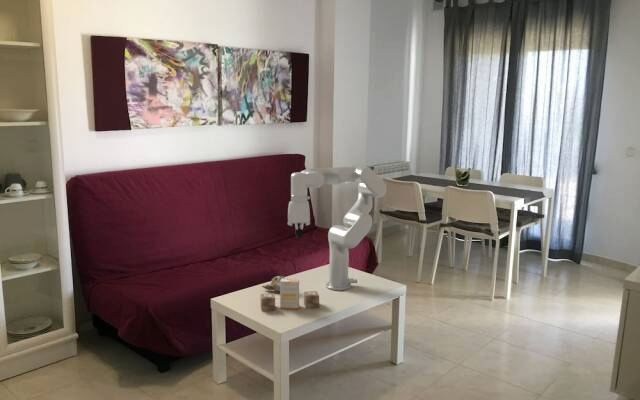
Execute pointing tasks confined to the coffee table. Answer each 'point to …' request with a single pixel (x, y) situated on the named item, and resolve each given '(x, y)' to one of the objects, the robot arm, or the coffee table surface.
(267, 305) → the walnut block
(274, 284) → the ceramic sculpture
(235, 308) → the coffee table surface
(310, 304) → the walnut block
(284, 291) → the supplement box
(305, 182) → the robot arm
